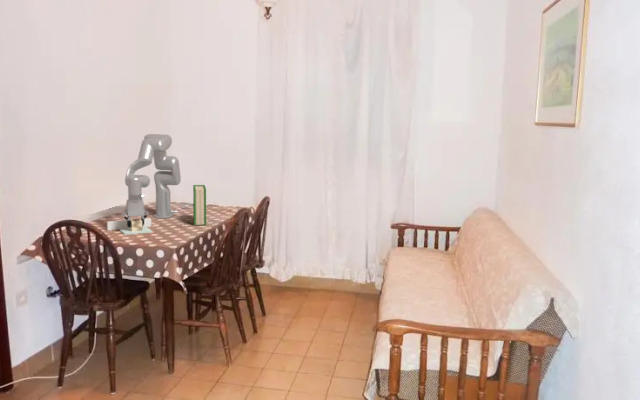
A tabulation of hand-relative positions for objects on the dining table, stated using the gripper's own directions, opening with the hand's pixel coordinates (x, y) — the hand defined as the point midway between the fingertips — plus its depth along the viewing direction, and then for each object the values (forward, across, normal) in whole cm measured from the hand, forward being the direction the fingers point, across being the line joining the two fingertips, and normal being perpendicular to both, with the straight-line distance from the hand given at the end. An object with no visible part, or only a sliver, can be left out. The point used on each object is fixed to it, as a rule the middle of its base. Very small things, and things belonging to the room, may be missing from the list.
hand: (135, 226), depth 324 cm
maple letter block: (+2, 0, 0) cm, 2 cm away
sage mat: (+3, 0, 0) cm, 3 cm away
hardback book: (+3, -43, -8) cm, 44 cm away
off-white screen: (+3, +1, -11) cm, 12 cm away
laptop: (+4, -59, -68) cm, 90 cm away
